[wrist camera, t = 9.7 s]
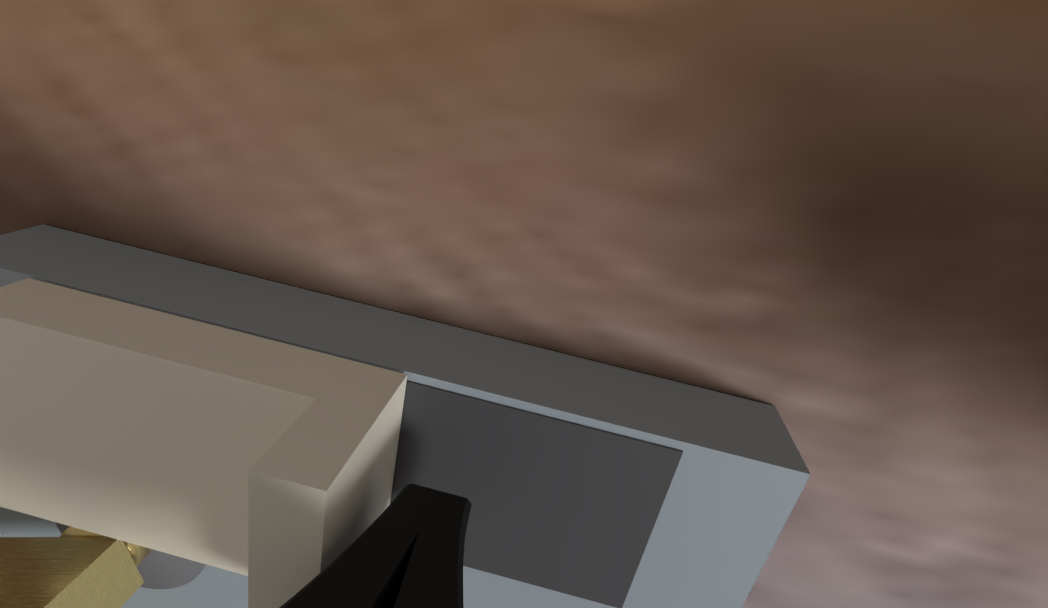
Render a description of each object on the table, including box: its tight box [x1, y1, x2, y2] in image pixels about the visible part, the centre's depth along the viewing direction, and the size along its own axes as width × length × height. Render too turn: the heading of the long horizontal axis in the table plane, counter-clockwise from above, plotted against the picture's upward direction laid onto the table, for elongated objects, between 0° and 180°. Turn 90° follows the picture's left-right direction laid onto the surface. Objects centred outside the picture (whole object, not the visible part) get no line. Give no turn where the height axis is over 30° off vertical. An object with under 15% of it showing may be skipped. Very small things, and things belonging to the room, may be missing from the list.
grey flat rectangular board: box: [0, 224, 810, 608], centre depth 15 cm, size 15×19×3 cm
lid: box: [0, 278, 407, 608], centre depth 11 cm, size 5×8×4 cm, turn 78°
